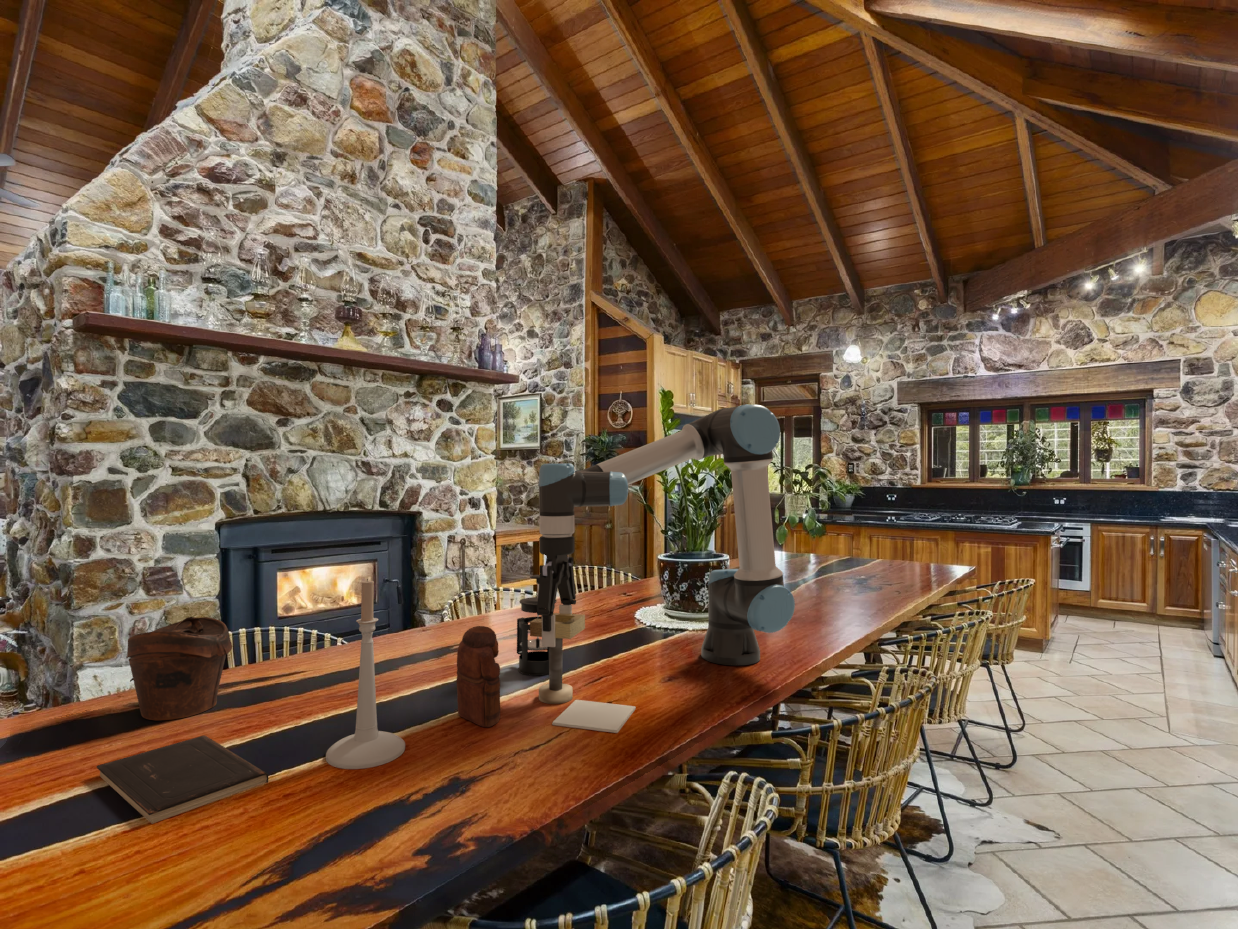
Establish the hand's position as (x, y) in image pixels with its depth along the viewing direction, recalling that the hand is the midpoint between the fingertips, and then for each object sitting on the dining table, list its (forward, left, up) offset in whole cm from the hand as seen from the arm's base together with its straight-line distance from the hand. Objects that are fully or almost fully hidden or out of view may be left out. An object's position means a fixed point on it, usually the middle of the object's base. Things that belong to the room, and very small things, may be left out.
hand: (557, 640), depth 143 cm
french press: (+12, -17, -13) cm, 24 cm away
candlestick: (+21, +35, -13) cm, 43 cm away
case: (+70, +29, -13) cm, 77 cm away
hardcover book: (+42, +52, -13) cm, 68 cm away
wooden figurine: (+10, +15, -13) cm, 22 cm away
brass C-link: (0, 0, +2) cm, 2 cm away
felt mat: (-11, +8, -12) cm, 18 cm away
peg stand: (0, 0, -12) cm, 12 cm away
